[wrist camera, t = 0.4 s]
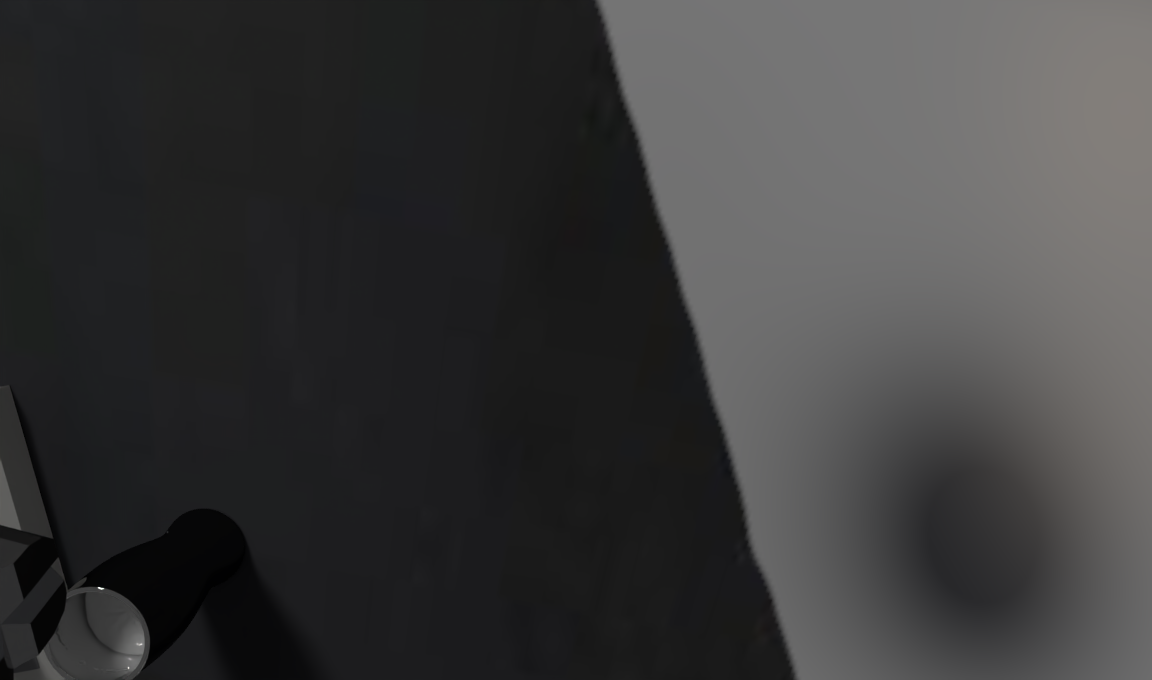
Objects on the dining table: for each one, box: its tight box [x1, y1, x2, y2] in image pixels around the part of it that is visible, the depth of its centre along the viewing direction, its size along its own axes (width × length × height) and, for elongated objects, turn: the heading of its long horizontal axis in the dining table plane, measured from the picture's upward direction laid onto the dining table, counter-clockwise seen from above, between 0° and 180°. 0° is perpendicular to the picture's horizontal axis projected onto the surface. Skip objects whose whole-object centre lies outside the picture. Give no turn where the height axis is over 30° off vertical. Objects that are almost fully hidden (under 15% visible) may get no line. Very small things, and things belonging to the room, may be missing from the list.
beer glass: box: [44, 509, 245, 680], centre depth 59 cm, size 7×7×15 cm
